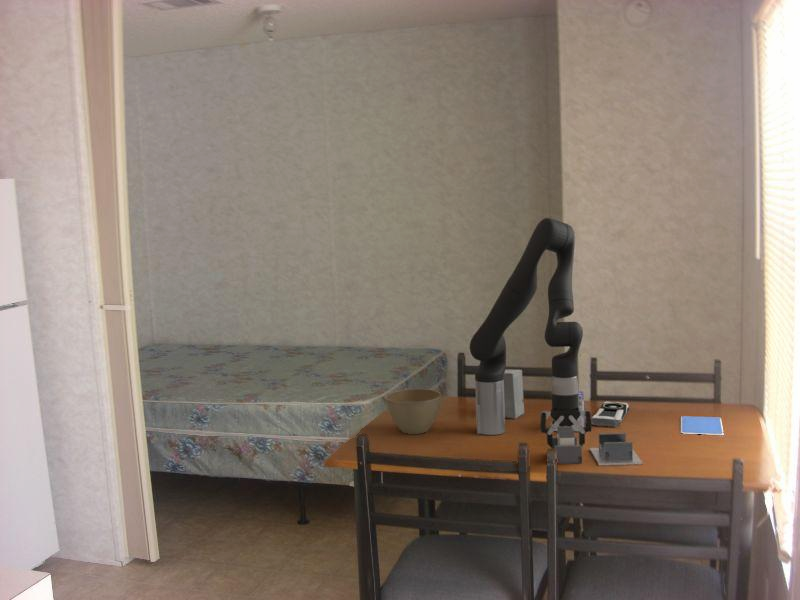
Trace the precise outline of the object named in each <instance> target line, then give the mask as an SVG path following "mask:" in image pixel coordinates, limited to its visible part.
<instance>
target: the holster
mask: <svg viewBox="0 0 800 600" xmlns="http://www.w3.org/2000/svg"><path fill="white" fill-rule="evenodd" d="M552 441H553V447H550V450H551V449H556V451H557V458H558V464H557V465H560V464H562V465H565V464H568V465H569V464H582V463H583V460H582V459H583V455H582V454H583V453H582V452H583V451H582V449H583V448H582V447H583V446H581V445H579V444H578V437H577V436H575V435H574V444H575V445H561V446H558V442H557V436H552Z"/></svg>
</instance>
